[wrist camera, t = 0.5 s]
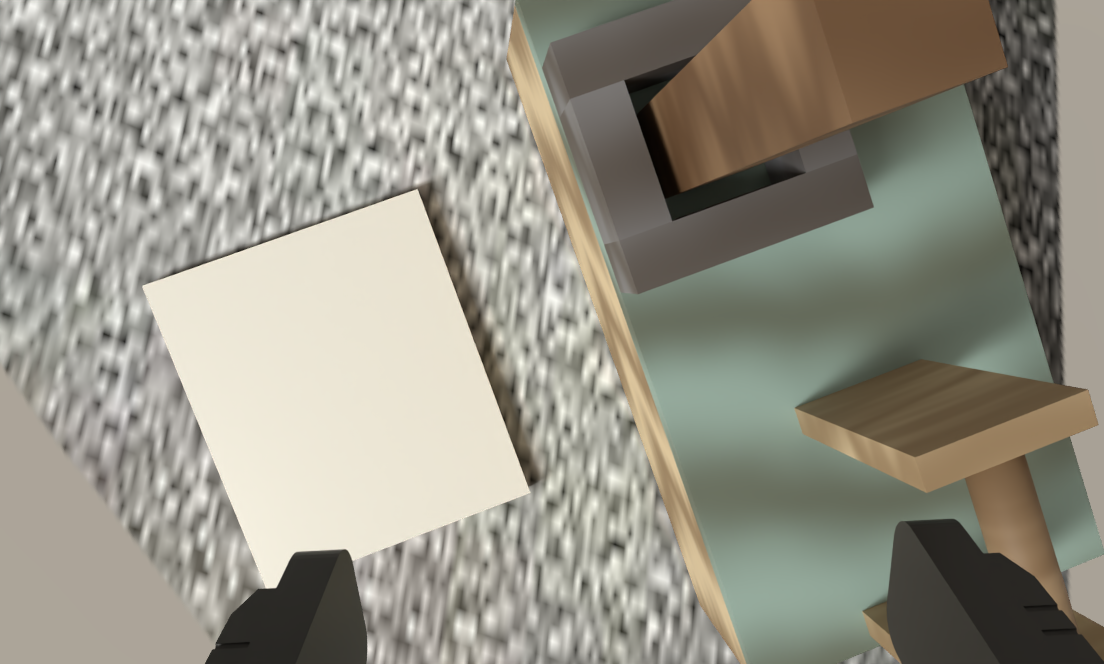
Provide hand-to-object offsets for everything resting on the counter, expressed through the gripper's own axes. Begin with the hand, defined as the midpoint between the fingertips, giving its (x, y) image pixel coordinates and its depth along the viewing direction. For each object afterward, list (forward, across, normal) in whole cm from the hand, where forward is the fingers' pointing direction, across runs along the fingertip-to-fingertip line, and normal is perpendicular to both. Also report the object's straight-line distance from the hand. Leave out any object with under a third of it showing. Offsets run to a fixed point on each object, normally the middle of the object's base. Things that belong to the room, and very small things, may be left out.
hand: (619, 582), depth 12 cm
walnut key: (+19, -4, -3) cm, 19 cm away
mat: (+22, +11, +7) cm, 25 cm away
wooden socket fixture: (+25, -7, +5) cm, 27 cm away
